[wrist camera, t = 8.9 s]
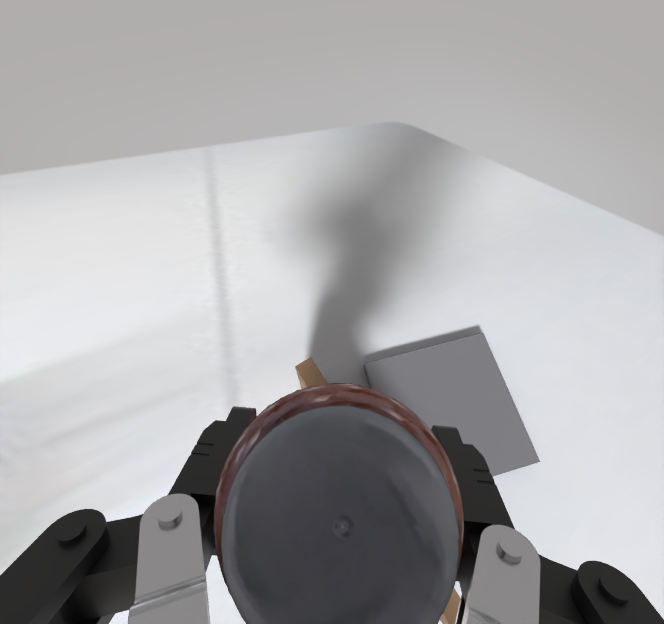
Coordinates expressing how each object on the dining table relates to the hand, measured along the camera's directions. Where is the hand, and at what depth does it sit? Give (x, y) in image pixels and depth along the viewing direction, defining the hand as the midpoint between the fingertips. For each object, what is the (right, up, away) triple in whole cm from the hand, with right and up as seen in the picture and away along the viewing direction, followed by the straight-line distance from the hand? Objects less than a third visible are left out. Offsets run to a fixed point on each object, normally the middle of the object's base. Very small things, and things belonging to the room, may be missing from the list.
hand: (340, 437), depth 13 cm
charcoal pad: (+9, -4, +19) cm, 21 cm away
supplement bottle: (0, -4, +4) cm, 5 cm away
